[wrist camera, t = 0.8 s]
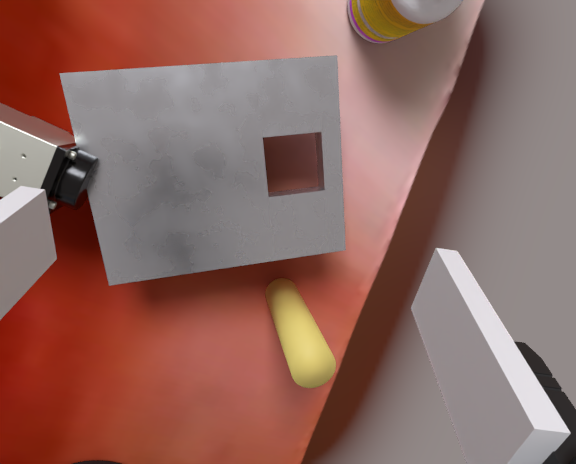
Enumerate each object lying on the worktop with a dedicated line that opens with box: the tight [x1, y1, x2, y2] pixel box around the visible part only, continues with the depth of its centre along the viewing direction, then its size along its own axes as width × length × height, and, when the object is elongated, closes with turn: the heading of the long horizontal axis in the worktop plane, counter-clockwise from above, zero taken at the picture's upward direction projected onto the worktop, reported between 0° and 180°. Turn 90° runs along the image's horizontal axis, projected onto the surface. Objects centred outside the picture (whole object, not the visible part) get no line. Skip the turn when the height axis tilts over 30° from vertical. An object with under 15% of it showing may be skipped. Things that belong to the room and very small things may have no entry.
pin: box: [265, 278, 336, 388], centre depth 37 cm, size 4×4×14 cm
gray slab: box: [59, 55, 346, 286], centre depth 35 cm, size 16×20×8 cm
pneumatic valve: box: [0, 103, 98, 214], centre depth 30 cm, size 6×12×12 cm, turn 63°
